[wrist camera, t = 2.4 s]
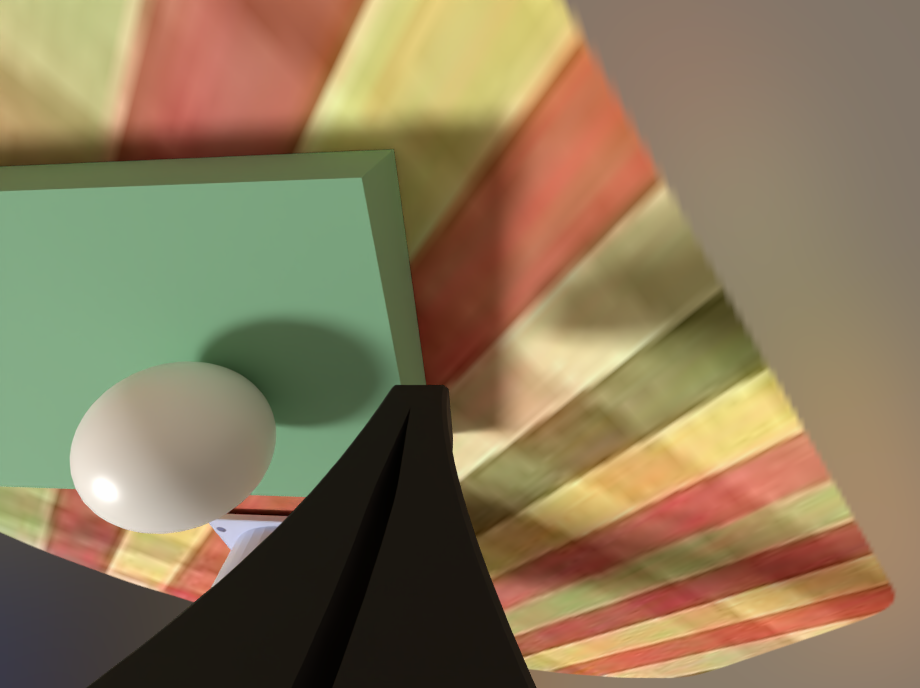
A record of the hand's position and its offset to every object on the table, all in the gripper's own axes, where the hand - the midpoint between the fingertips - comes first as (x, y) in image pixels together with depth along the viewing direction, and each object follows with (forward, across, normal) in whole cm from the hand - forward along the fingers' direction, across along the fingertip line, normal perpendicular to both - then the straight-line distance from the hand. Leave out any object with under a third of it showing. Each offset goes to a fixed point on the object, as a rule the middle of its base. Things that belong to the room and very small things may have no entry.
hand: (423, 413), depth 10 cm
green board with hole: (+4, +14, +1) cm, 14 cm away
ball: (-1, +6, 0) cm, 6 cm away
